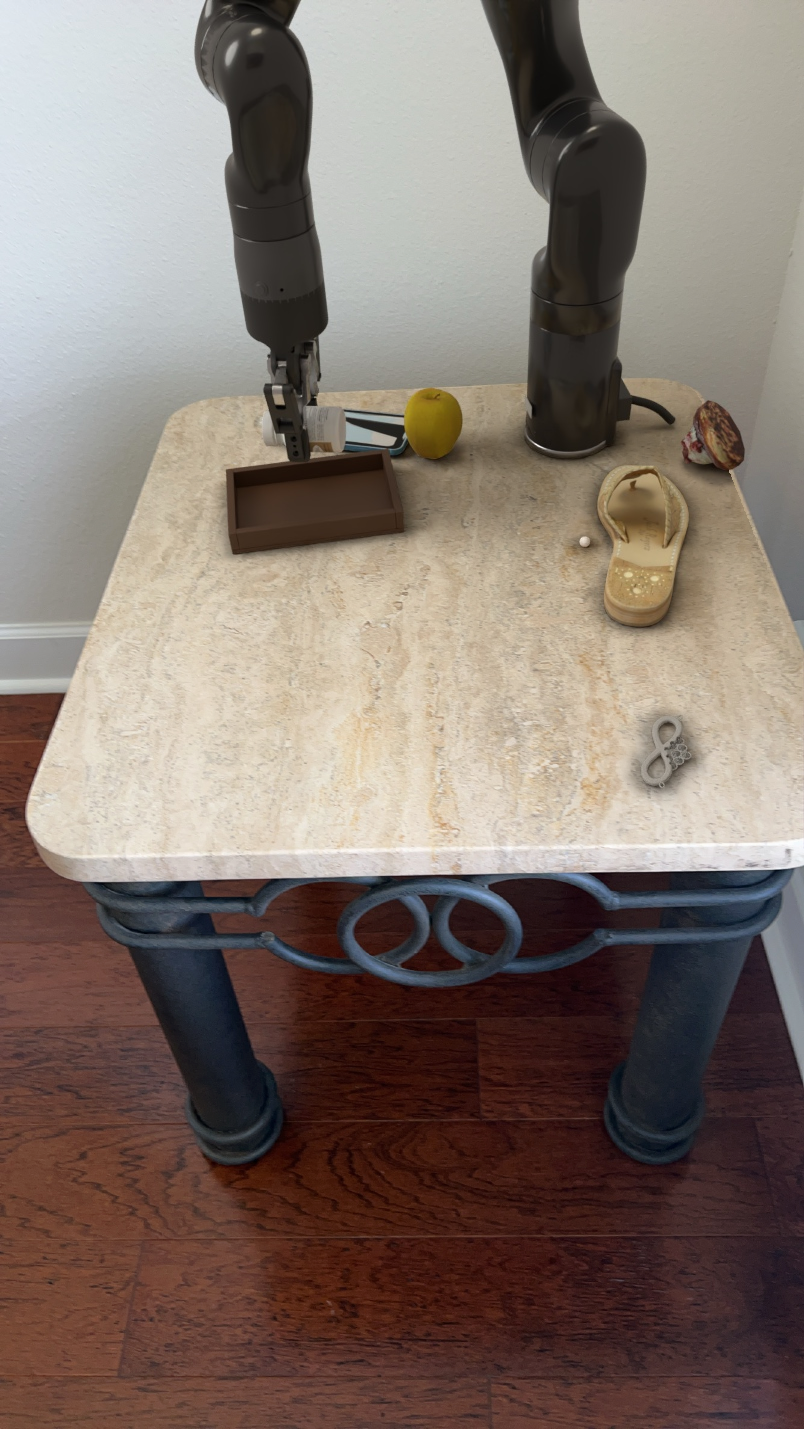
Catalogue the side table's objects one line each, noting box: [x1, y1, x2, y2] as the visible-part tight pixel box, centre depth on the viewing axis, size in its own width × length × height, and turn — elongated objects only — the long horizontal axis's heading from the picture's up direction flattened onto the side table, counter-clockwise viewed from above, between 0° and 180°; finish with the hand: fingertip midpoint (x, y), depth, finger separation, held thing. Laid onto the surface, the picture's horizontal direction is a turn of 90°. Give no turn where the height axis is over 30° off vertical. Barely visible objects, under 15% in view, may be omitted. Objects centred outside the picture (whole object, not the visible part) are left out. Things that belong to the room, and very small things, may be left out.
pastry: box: [679, 399, 746, 471], centre depth 110 cm, size 8×8×5 cm
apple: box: [403, 387, 464, 460], centre depth 112 cm, size 6×6×8 cm
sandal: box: [596, 464, 690, 628], centre depth 100 cm, size 13×23×8 cm, turn 150°
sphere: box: [579, 536, 598, 596], centre depth 101 cm, size 1×8×1 cm, turn 3°
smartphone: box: [343, 408, 409, 456], centre depth 119 cm, size 7×1×15 cm
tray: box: [225, 449, 405, 555], centre depth 109 cm, size 18×12×2 cm, turn 98°
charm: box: [640, 714, 693, 789], centre depth 84 cm, size 8×1×4 cm
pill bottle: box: [261, 405, 346, 454], centre depth 103 cm, size 4×4×8 cm
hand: (304, 444), depth 104 cm, fingers closed on pill bottle, 4 cm apart
